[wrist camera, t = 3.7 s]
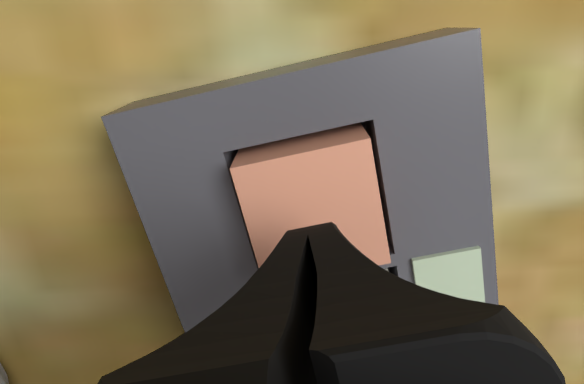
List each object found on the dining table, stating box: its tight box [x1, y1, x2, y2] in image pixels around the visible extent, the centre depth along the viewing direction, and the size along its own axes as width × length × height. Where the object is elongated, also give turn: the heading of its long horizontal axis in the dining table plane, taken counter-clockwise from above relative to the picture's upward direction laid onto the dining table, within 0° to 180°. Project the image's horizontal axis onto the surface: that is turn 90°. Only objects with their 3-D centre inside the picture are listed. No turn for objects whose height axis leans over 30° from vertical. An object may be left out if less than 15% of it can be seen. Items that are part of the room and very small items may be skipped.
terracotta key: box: [230, 122, 391, 268], centre depth 15 cm, size 4×4×4 cm
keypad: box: [101, 28, 498, 332], centre depth 18 cm, size 20×12×3 cm, turn 13°
